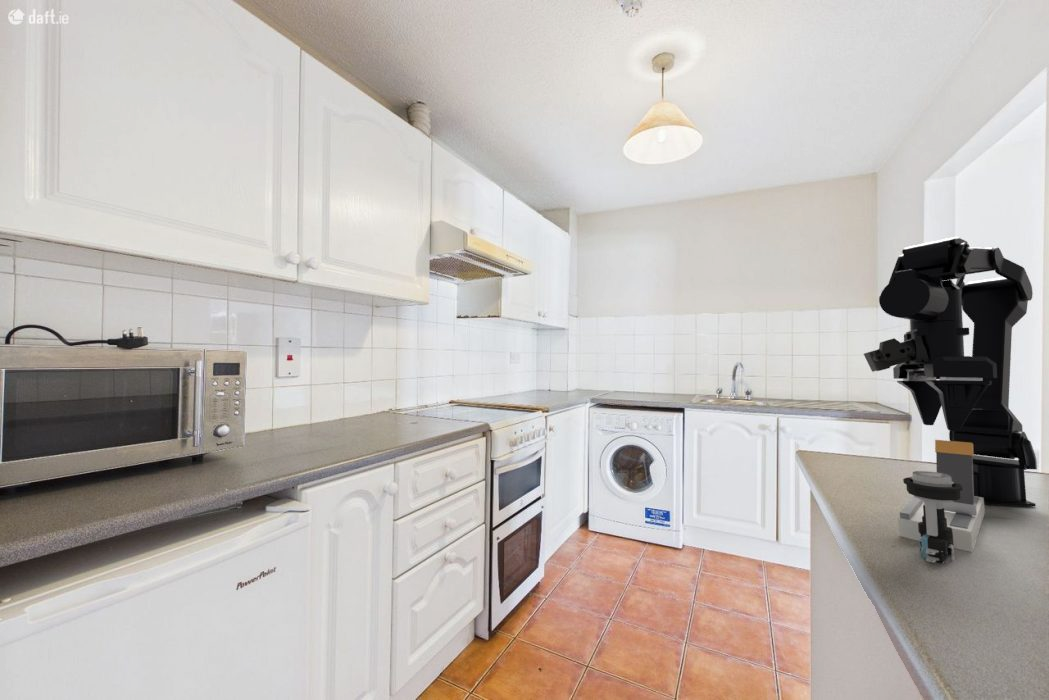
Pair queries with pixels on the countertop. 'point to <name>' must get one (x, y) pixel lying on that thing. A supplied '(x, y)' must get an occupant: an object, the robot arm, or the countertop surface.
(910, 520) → the panel
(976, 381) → the robot arm
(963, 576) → the countertop surface
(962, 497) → the lever
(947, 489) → the push button
